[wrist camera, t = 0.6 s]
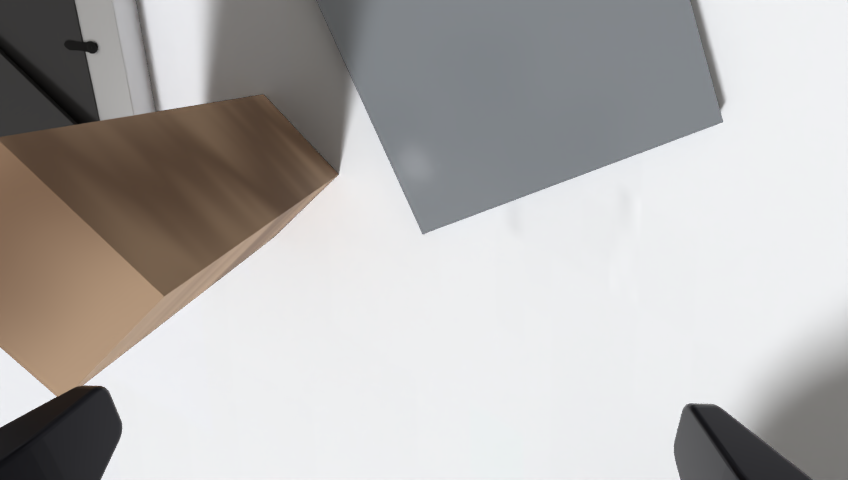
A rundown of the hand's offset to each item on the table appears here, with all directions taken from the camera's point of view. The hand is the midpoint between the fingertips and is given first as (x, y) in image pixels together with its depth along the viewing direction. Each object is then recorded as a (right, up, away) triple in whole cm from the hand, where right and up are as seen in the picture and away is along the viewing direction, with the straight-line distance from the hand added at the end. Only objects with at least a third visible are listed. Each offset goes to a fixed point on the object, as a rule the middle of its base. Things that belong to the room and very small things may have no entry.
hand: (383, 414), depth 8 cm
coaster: (+4, +10, +11) cm, 16 cm away
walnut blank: (-6, +6, +15) cm, 17 cm away
